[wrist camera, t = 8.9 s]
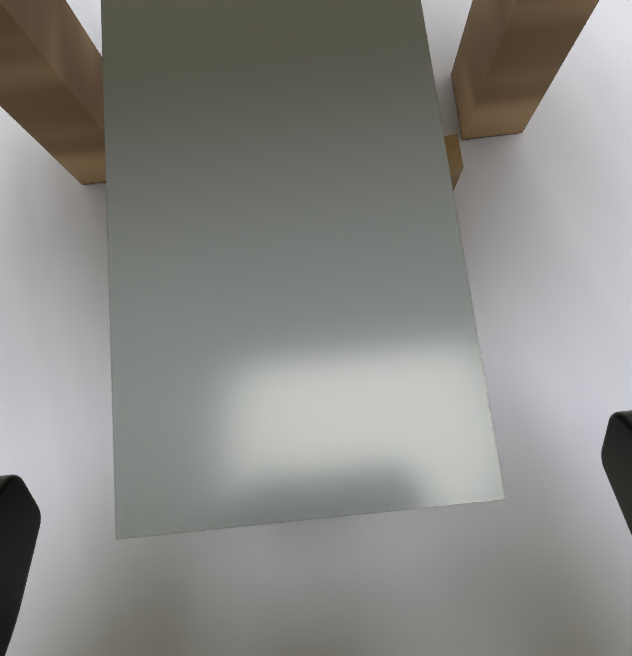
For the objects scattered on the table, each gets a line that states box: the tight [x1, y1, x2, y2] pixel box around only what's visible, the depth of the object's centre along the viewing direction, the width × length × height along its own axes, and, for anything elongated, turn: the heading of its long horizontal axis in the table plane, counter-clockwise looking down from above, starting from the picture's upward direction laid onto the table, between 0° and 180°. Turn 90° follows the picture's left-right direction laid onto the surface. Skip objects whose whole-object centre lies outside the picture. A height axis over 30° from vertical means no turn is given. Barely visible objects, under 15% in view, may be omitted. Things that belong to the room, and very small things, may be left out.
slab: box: [101, 0, 505, 539], centre depth 12 cm, size 7×4×11 cm, turn 6°
